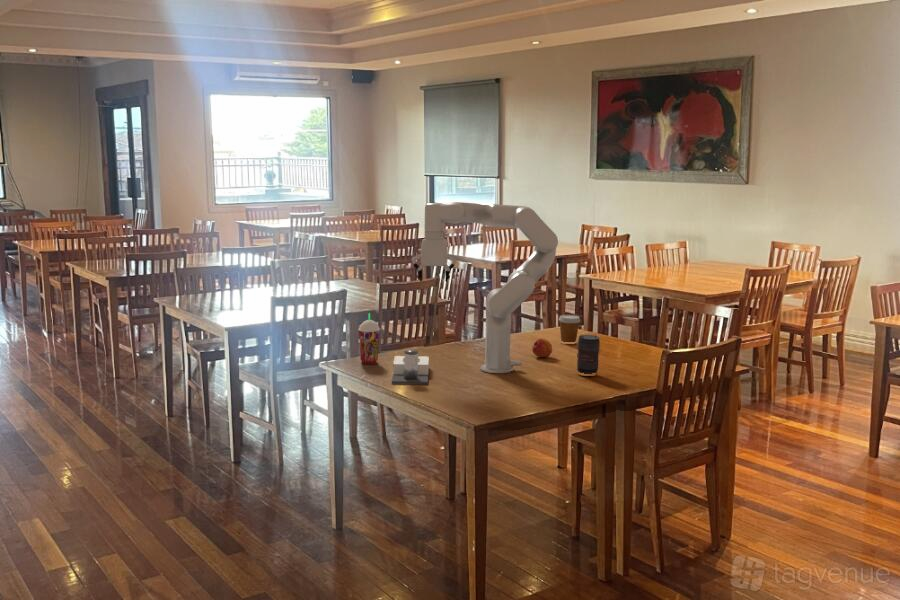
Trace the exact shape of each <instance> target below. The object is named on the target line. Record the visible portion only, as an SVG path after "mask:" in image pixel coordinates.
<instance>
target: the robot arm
mask: <svg viewBox="0 0 900 600" xmlns="http://www.w3.org/2000/svg"><path fill="white" fill-rule="evenodd" d="M445 223H450V224H460V223H471V224H472V223H473V224H480V225H483V226H486V227H493V228H506V229H519V230H520V231H521V232H522V234H523V235H524V236H525V237H526V238H527V239H528V240H529V241H530V242H531V244H532V245H534V247H533V248H534V249H533V251H532V253H531V254H530V255H529V257H528V258H527V259H526V260H525V261H524V262H522V264H520V266H518V267H517V268H516V269H515V270H514V271H513V272H511V273H510V275H509V276H508V279H507V281H506V283H505V284H503V286H502V287H501V288H500V287H498V288H494V289H492V290H491V291H489V293H488V294H487V296H486V299H485V341H484V342H485V347H484V350H485V352H484V364H482V365H481V366H480V370H481V371H482V372H484V373H489V374H506V373H507V374H508V373H512V372H514V367H522V360H513V359H511V356H510V355H511V331H512V329H511V328H512V322H511V321H512V314H513V312H514V311H515V310H516V309H518V308H519V306H521V305H522V304H523V303H524V302H525V301H526V300H527V299H528V298H529V297H530V296H531V295H532V294H533V291H534V290H535V284H536V282H538V281H539V280H540V279H542V277H543V275H545V274H546V273H547V271H549V269H550V268H551V266H552V265H553V263H554V261H555V258H556V253H557V248H558V244H559V239H558V236H557V234H556V233H555V232H554V231H553V230H552V229H551V228H550V227H549V226H548V224H547V223H545V222H544V220H542V218H541V217H540V216H539V215H538V214H537V212H536V211H535V210H534V209H533V208H531V207H529V206H525V205H523V206H522V205H510V204H500V203H499V204H497V203H474V202H461V201H452V202H450V203H448V204H447V203H446V204H443V203H441V202H428V203H426V204H425V207H424V238H423V239H422V240H421V245H420V254H418V255H415V256H414V257H412V258H411V259H410V261H411V262H412V264H413V267H415V269H416V270H417V273H418V274H417V275H418V279H419V281H420V282H422V281H423V268H424V267H444V269H445V274H444V275H445V276H444V277H445V279H444V280H445V281H444V282H446V283H447V282H448V280H450V271H451V270H452V269H453V268H454V267H455V265H456V263H457V262H458V259H457V258H455V257H454V256H451V255H450V254H448V242H447V239H445V238H447V237H449V233H448V232H445V231H446V230H445V226H446V225H445ZM417 260H420V264H418V263H417V262H416V261H417ZM448 260H450V261H451V264H448ZM511 371H512V372H511Z"/></svg>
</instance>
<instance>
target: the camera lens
mask: <svg viewBox="0 0 900 600" xmlns="http://www.w3.org/2000/svg"><path fill="white" fill-rule="evenodd" d="M600 343H601V342H600V336H597V335H594V334H580V335H579V336H578V340H577V355H576V357H577V362H576V363H577V364H576V367H577V368H576V369H577V370H576V371H577V372H580V373H584V374H592V373H596V374H597V373H598V371H599V370H598V369H599V354H600V347H601V346H600Z"/></svg>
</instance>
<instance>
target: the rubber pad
mask: <svg viewBox="0 0 900 600" xmlns="http://www.w3.org/2000/svg"><path fill="white" fill-rule="evenodd" d="M391 384H392V385H428V384H429V374H428V375H417V379H412V380H411V379H405V378H404V374H393V373H392V378H391Z"/></svg>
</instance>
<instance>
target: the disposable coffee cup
mask: <svg viewBox="0 0 900 600" xmlns="http://www.w3.org/2000/svg"><path fill="white" fill-rule="evenodd" d="M558 321H559V331H560V341H563V342H575V341H576V342H577V338H578V331H579V324H580V322H581V318H580V316H579V315H575V314H562V315H559V317H558Z"/></svg>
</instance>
